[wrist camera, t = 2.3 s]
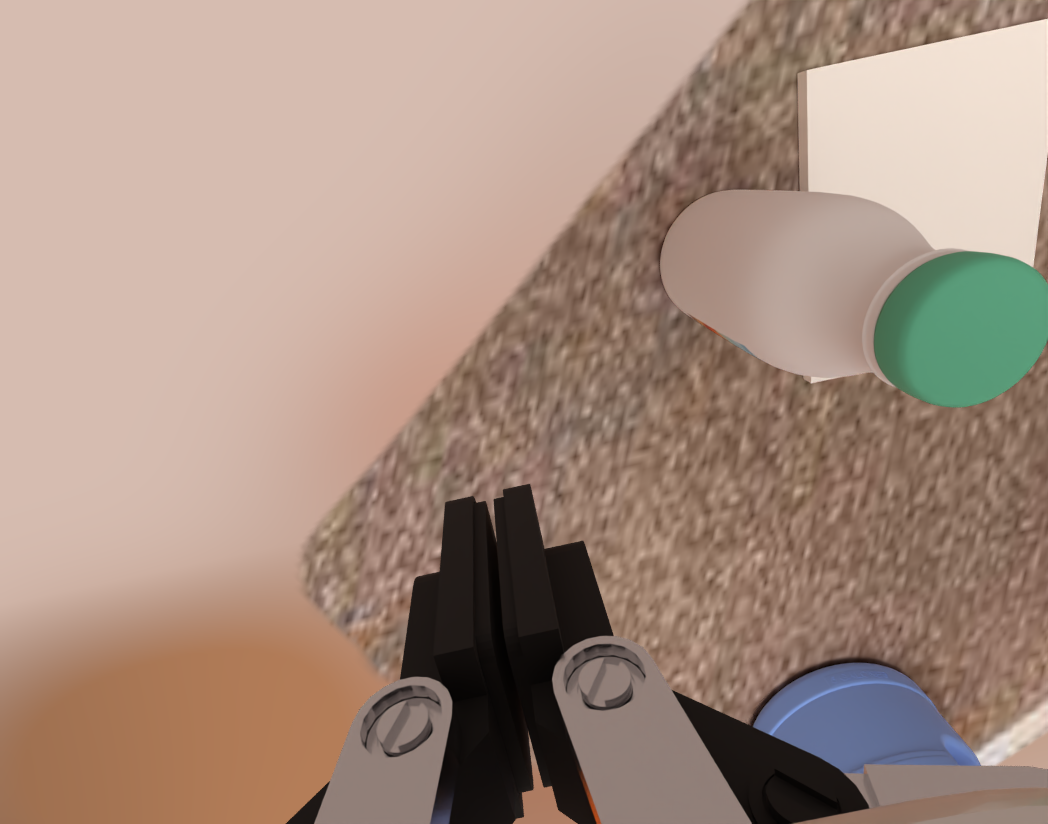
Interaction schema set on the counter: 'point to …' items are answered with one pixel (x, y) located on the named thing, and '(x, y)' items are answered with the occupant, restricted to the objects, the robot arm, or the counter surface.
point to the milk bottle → (854, 294)
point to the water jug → (863, 719)
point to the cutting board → (937, 137)
